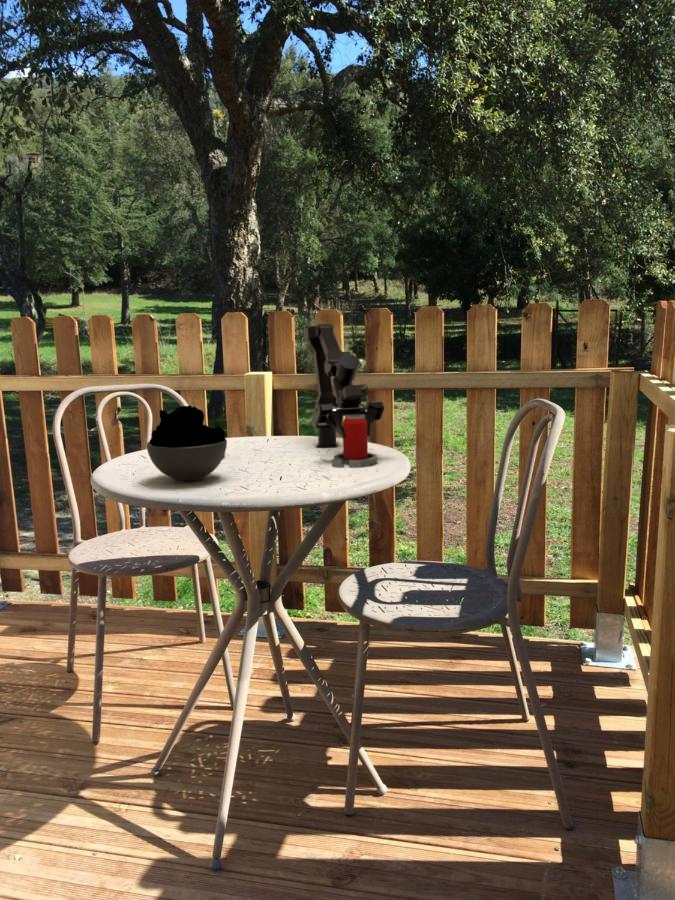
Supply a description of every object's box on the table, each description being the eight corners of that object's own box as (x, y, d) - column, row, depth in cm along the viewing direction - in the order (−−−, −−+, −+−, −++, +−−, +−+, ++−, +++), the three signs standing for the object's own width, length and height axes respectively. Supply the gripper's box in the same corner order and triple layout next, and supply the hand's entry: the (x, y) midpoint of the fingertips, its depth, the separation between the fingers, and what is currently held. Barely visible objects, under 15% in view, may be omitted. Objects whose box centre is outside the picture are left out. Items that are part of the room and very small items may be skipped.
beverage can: (357, 455, 215) (357, 413, 213) (372, 459, 210) (372, 416, 208) (338, 458, 211) (337, 416, 209) (353, 462, 206) (352, 418, 204)
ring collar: (334, 459, 217) (334, 452, 217) (377, 458, 216) (377, 452, 216) (331, 467, 205) (331, 460, 205) (377, 467, 204) (377, 459, 204)
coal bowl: (220, 469, 206) (216, 400, 203) (236, 484, 188) (232, 408, 184) (144, 476, 199) (140, 405, 196) (154, 492, 181) (148, 413, 178)
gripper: (317, 375, 208) (328, 420, 199) (382, 372, 213) (395, 416, 204) (311, 400, 217) (321, 444, 208) (373, 397, 222) (386, 440, 213)
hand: (356, 436), depth 208 cm, fingers closed on beverage can, 7 cm apart
